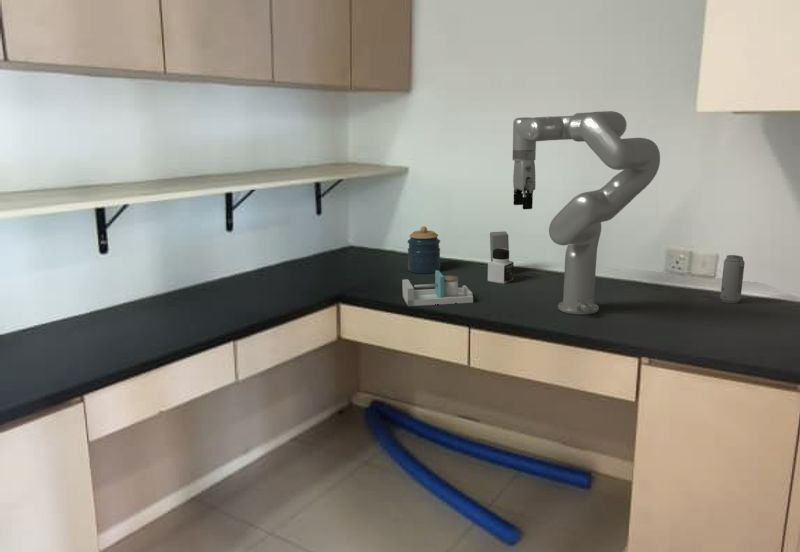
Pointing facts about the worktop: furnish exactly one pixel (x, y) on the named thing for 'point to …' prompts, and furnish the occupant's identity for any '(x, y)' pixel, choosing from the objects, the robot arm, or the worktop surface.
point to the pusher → (436, 284)
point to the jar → (450, 286)
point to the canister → (423, 251)
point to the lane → (432, 296)
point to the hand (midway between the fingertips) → (522, 206)
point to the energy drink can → (732, 279)
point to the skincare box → (498, 241)
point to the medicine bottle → (500, 267)
